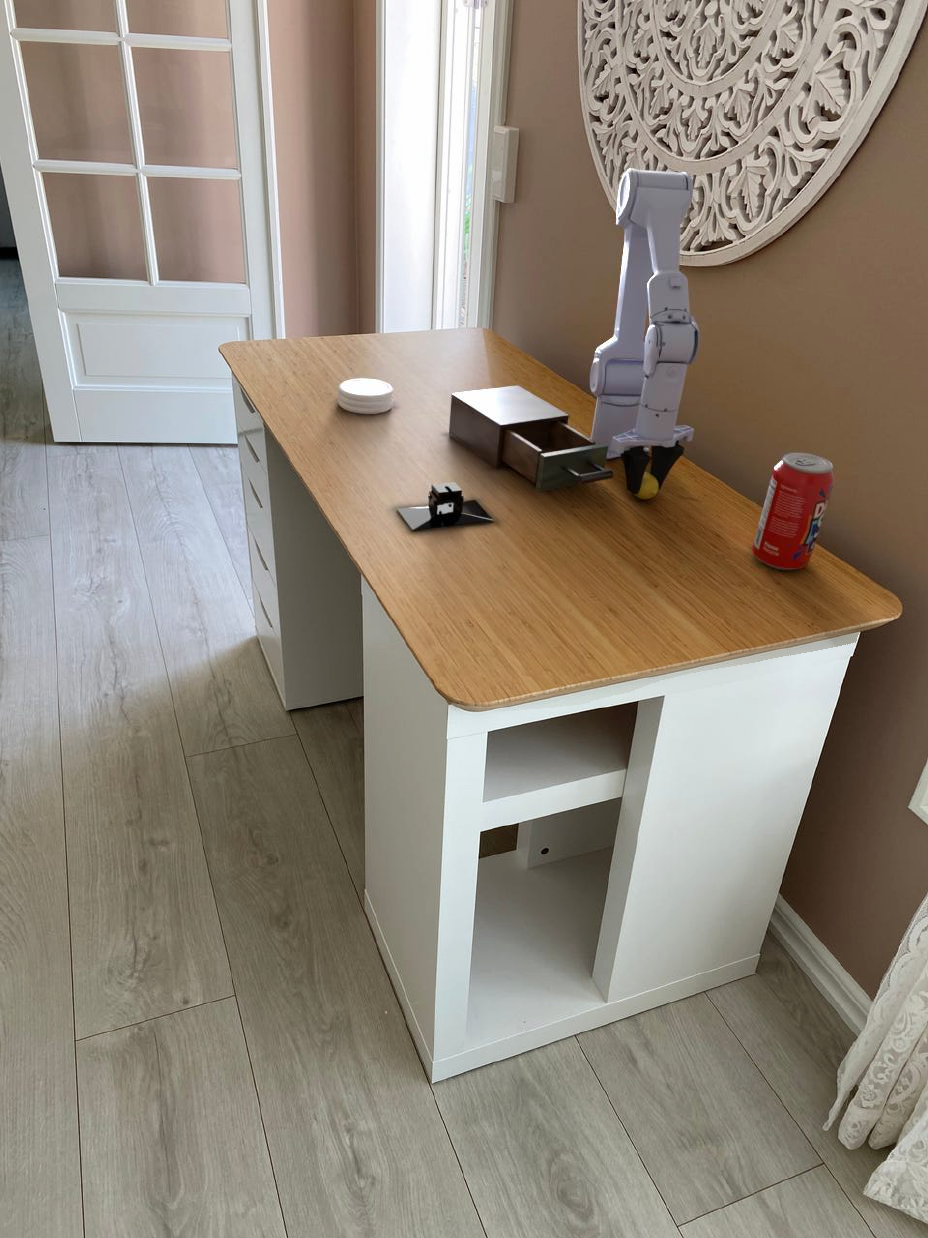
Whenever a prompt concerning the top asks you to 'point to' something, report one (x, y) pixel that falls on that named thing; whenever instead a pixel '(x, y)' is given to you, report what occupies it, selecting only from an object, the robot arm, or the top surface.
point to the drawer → (554, 455)
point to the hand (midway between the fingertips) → (643, 489)
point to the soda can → (793, 510)
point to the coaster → (365, 396)
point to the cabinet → (496, 418)
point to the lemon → (648, 487)
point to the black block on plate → (444, 510)
